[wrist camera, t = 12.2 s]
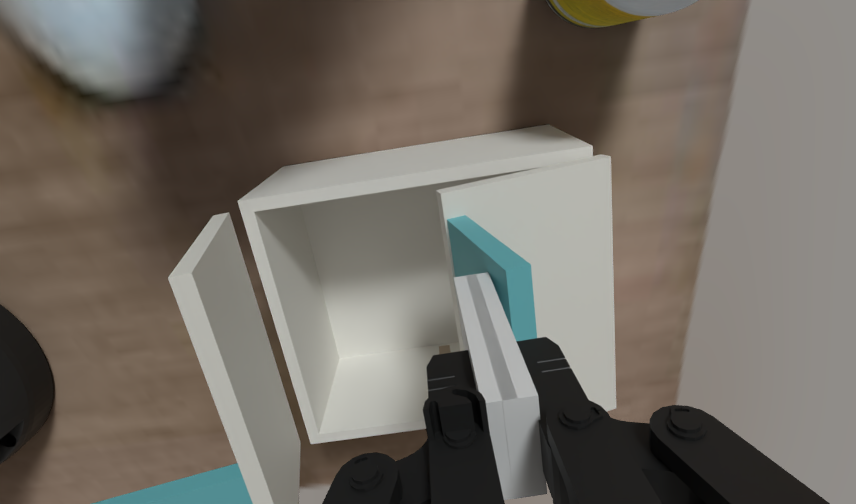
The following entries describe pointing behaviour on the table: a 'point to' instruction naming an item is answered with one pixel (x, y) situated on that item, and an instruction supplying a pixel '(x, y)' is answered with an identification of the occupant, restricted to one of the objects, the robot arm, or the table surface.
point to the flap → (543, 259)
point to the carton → (373, 271)
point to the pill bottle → (613, 10)
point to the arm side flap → (232, 381)
